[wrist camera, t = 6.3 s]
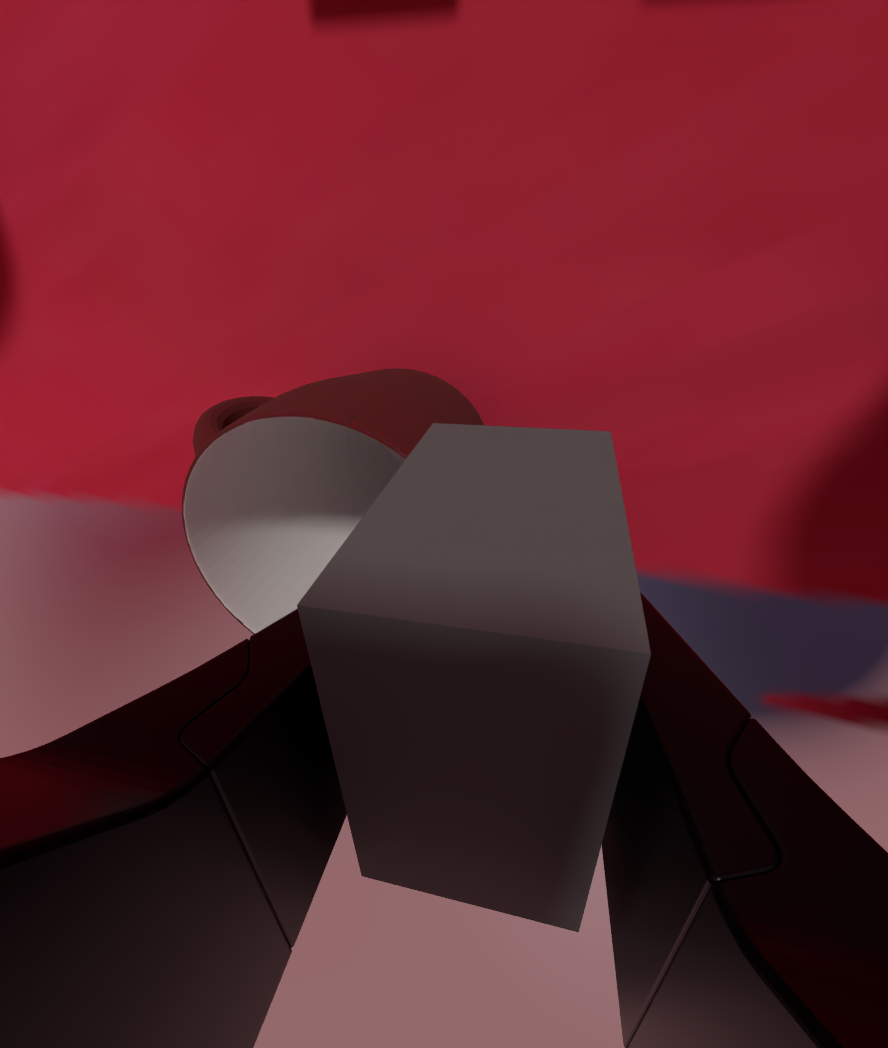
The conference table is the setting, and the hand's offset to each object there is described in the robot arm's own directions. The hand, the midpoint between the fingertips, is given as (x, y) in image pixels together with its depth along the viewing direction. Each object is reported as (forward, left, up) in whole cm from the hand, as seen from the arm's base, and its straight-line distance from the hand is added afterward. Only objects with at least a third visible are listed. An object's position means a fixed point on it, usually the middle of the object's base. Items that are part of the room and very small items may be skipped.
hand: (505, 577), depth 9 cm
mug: (+6, +2, -12) cm, 14 cm away
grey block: (0, 0, -1) cm, 1 cm away
